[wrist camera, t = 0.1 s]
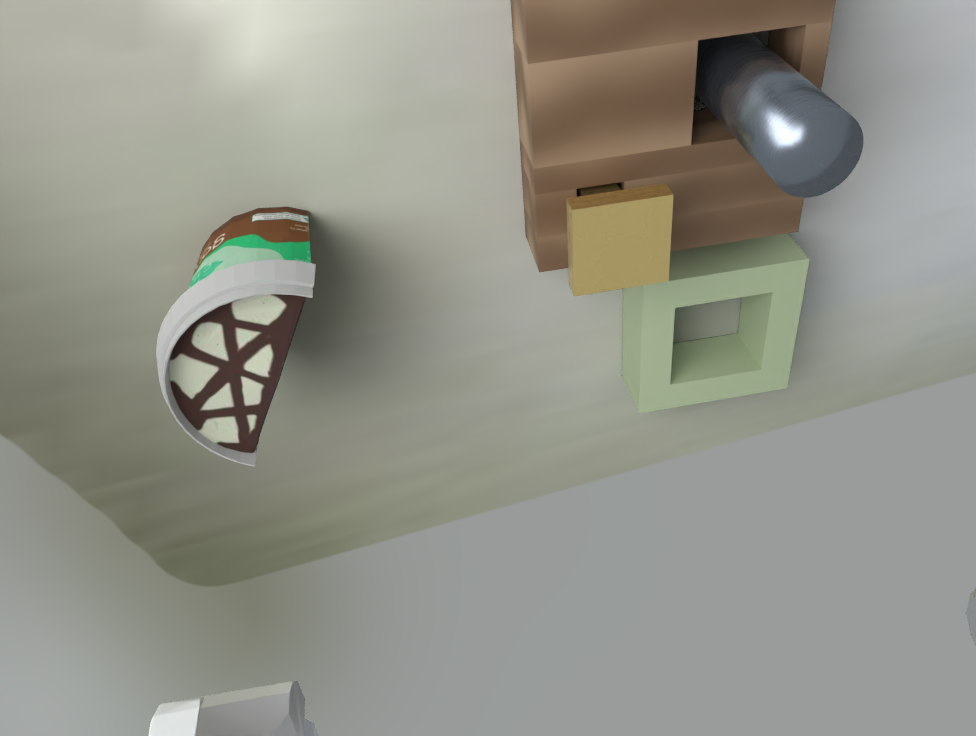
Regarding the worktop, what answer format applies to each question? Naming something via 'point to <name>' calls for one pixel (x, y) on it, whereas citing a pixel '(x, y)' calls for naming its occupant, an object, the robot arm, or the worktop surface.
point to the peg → (777, 115)
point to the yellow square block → (618, 237)
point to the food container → (236, 329)
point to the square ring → (723, 359)
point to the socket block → (647, 112)
